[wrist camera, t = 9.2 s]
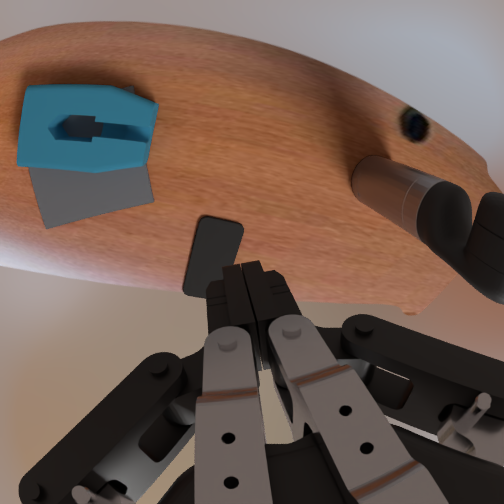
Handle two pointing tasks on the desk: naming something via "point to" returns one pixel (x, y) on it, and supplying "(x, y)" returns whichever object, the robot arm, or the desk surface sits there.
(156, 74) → the desk surface
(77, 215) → the mat
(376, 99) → the desk surface
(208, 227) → the phone
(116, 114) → the block
